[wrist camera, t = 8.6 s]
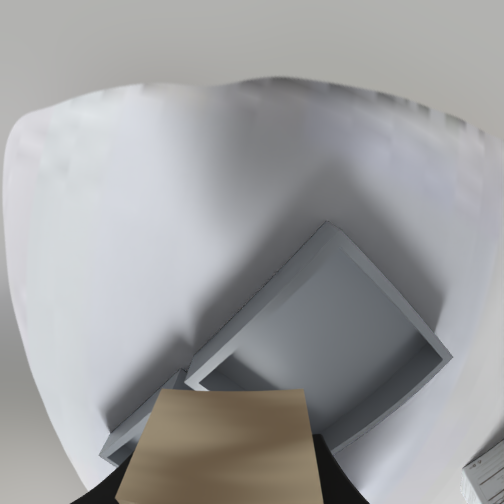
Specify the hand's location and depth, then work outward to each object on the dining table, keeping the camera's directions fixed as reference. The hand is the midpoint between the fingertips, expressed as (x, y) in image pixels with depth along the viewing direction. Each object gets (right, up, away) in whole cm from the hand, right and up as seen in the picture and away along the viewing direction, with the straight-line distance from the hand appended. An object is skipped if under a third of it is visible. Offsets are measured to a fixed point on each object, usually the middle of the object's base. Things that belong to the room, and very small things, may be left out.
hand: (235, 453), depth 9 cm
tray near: (+5, +1, +9) cm, 11 cm away
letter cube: (0, 0, +1) cm, 1 cm away
